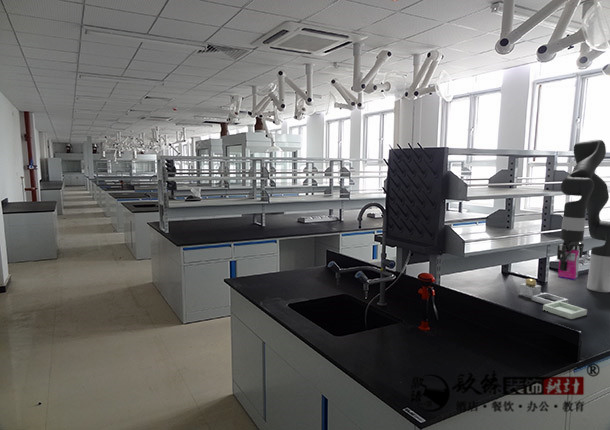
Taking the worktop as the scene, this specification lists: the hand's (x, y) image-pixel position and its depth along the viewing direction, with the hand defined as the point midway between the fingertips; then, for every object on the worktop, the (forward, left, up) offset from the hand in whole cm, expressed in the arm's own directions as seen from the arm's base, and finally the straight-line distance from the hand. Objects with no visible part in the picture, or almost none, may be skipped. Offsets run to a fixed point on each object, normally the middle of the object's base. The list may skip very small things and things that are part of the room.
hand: (568, 269), depth 160 cm
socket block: (-7, -13, -18) cm, 23 cm away
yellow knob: (-7, -19, -17) cm, 26 cm away
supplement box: (0, 0, -4) cm, 4 cm away
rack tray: (0, 0, -18) cm, 18 cm away
